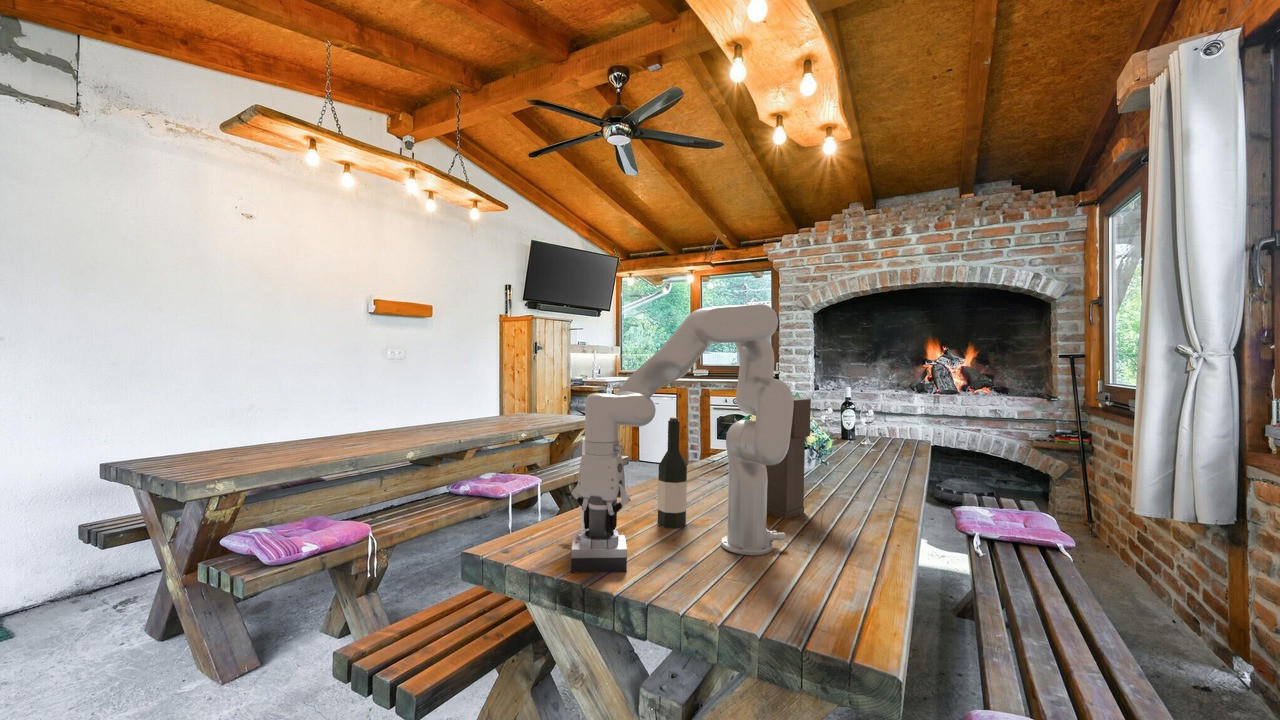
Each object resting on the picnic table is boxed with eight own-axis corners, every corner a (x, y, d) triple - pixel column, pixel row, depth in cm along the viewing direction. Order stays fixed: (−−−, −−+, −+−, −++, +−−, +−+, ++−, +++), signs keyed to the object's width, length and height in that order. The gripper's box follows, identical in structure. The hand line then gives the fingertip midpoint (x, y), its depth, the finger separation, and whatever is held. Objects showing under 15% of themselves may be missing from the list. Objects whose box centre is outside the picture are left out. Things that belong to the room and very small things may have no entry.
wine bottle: (691, 522, 151) (693, 417, 151) (677, 530, 144) (680, 420, 144) (666, 517, 155) (668, 415, 155) (651, 524, 148) (653, 417, 148)
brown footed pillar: (810, 510, 166) (812, 399, 166) (786, 519, 156) (789, 401, 156) (758, 498, 180) (760, 395, 180) (733, 505, 170) (735, 396, 170)
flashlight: (595, 533, 122) (596, 490, 122) (615, 537, 120) (616, 493, 120) (583, 540, 118) (584, 495, 118) (604, 544, 115) (605, 498, 115)
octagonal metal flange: (624, 556, 124) (624, 526, 124) (626, 572, 115) (627, 540, 115) (572, 557, 123) (573, 527, 123) (571, 572, 114) (571, 540, 114)
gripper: (642, 449, 119) (641, 530, 119) (577, 442, 126) (576, 519, 126) (627, 454, 112) (626, 540, 112) (560, 447, 119) (558, 528, 119)
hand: (599, 528), depth 119 cm, fingers closed on flashlight, 4 cm apart
